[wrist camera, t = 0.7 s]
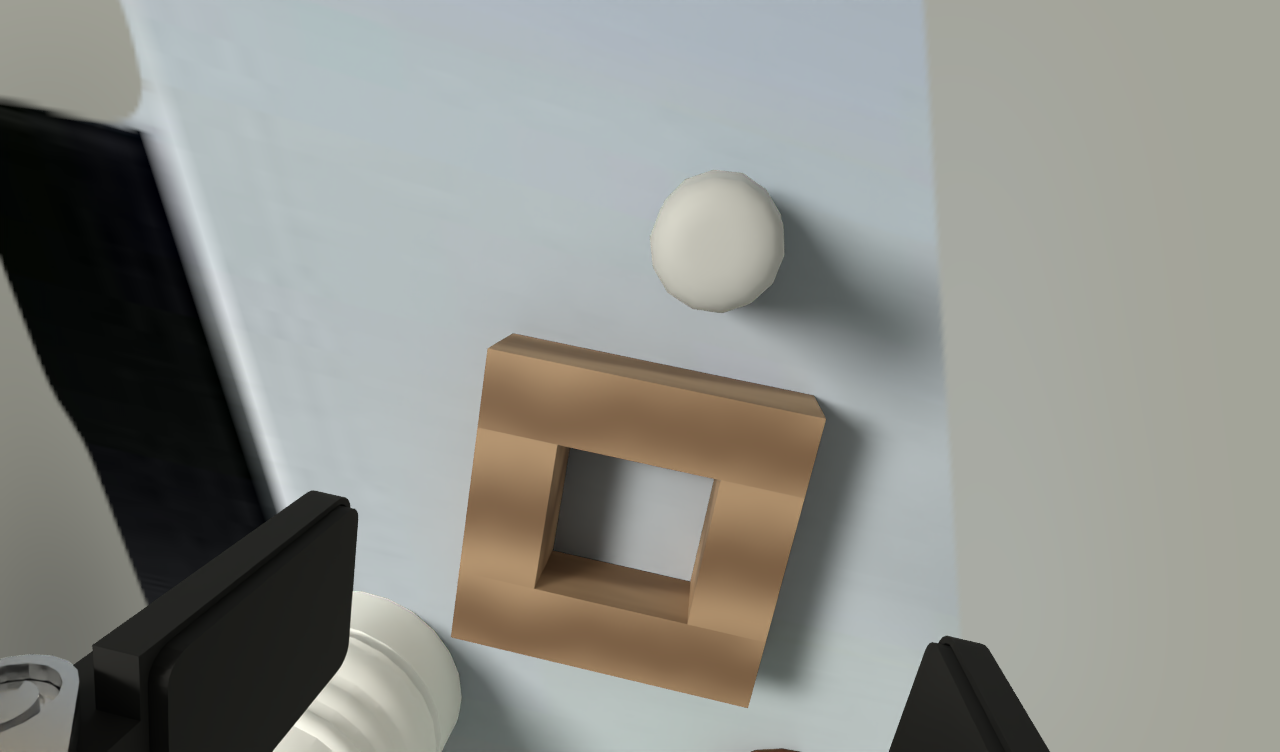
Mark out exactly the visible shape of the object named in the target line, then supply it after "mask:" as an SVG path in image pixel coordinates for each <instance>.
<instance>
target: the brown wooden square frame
mask: <svg viewBox="0 0 1280 752" xmlns="http://www.w3.org/2000/svg"><path fill="white" fill-rule="evenodd" d="M825 421H826V418H825V416H824V414H823V412H822V410H821V408H820V406H819V405H818V403H817V401H816V399H815V397H814V396H813V395H809V394H804V393H799V392H794V391H789V390H784V389H780V388H775V387H770V386H765V385H760V384H755V383H751V382H746V381H741V380H736V379H731V378H726V377H721V376H717V375H712V374H707V373H702V372H697V371H692V370H688V369H683V368H678V367H673V366H668V365H663V364H659V363H654V362H649V361H644V360H639V359H634V358H629V357H625V356H620V355H615V354H610V353H605V352H600V351H596V350H591V349H586V348H581V347H576V346H571V345H567V344H562V343H557V342H552V341H547V340H542V339H537V338H533V337H528V336H523V335H518V334H511V335H510V336H508V337H506V338H504V339H503V340H501V341H499V342H498V343H496V344H494V345H493V346H491V347H489V348H488V350H487V358H486V366H485V374H484V382H483V389H482V397H481V405H480V413H479V421H478V429H477V437H476V444H475V452H474V460H473V468H472V476H471V484H470V491H469V499H468V507H467V515H466V523H465V531H464V539H463V546H462V554H461V562H460V570H459V578H458V586H457V594H456V601H455V609H454V617H453V625H452V633H451V637H452V638H456V639H460V640H465V641H469V642H473V643H477V644H481V645H486V646H490V647H494V648H498V649H502V650H507V651H511V652H515V653H519V654H523V655H528V656H532V657H536V658H540V659H544V660H549V661H553V662H557V663H561V664H565V665H569V666H574V667H578V668H582V669H586V670H590V671H595V672H599V673H603V674H607V675H611V676H616V677H620V678H624V679H628V680H632V681H637V682H641V683H645V684H649V685H653V686H657V687H662V688H666V689H670V690H674V691H678V692H683V693H687V694H691V695H695V696H699V697H704V698H708V699H712V700H716V701H720V702H725V703H729V704H733V705H737V706H741V707H745V708H748V706H749V702H750V698H751V695H752V691H753V687H754V684H755V680H756V676H757V673H758V669H759V665H760V661H761V658H762V654H763V650H764V647H765V643H766V639H767V636H768V632H769V628H770V624H771V621H772V617H773V613H774V610H775V606H776V602H777V599H778V595H779V591H780V587H781V584H782V580H783V576H784V573H785V569H786V565H787V562H788V558H789V554H790V551H791V547H792V543H793V539H794V536H795V532H796V528H797V525H798V521H799V517H800V514H801V510H802V506H803V502H804V499H805V495H806V491H807V488H808V484H809V480H810V477H811V473H812V469H813V465H814V462H815V458H816V454H817V451H818V447H819V443H820V440H821V436H822V432H823V429H824V425H825ZM570 448H575V449H579V450H584V451H589V452H593V453H598V454H602V455H607V456H612V457H616V458H621V459H625V460H630V461H635V462H639V463H644V464H648V465H653V466H658V467H662V468H667V469H672V470H676V471H681V472H685V473H690V474H695V475H699V476H704V477H708V478H713V479H714V482H713V486H712V490H711V495H710V499H709V503H708V508H707V512H706V516H705V521H704V525H703V529H702V534H701V538H700V542H699V547H698V551H697V555H696V560H695V564H694V568H693V573H692V577H691V582H689V581H685V580H680V579H676V578H672V577H667V576H663V575H658V574H654V573H650V572H645V571H641V570H636V569H632V568H628V567H623V566H619V565H614V564H610V563H606V562H601V561H597V560H592V559H588V558H584V557H579V556H575V555H570V554H566V553H562V552H557V551H553V547H554V541H555V535H556V529H557V523H558V517H559V511H560V505H561V499H562V493H563V487H564V481H565V475H566V469H567V463H568V457H569V451H570Z"/></svg>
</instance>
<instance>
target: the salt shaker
mask: <svg viewBox="0 0 1280 752" xmlns="http://www.w3.org/2000/svg"><path fill="white" fill-rule="evenodd" d="M650 243H651V253H652V262H653V268H654V270H655V271H656V273H657V275H658V277H659V278H660V280H661V282H662V284H663V285H664V287H665V289H666V290H667V292H668V293H669V294H671V295H672V296H674V297H675V298H677V299H678V300H680V301H681V302H683V303H684V304H686V305H687V306H689V307H691V308H692V309H697V310H704V311H710V312H717V313H724V312H727V311H730V310H733V309H736V308H739V307H742V306H745V305H748V304H751V303H752V302H753V301H754V300H755V299H756V298H757V297H759V296H760V295H761V294H762V293H763V292H764V291H765V290H766V289H768V288H769V287H770V286H771V285H772V284H773V282H774V280H775V277H776V275H777V272H778V270H779V267H780V265H781V263H782V260H783V258H784V255H785V254H784V227H783V222H782V221H781V214H780V212H779V210H778V209H777V207H776V205H775V204H774V202H773V200H772V198H771V197H770V195H769V193H768V192H767V190H766V189H765V188H763V187H762V186H760V185H759V184H758V183H756V182H755V181H753V180H752V179H750V178H749V177H748V176H746V175H745V174H743V173H738V172H729V171H720V170H711V171H708V172H705V173H702V174H699V175H697V176H694V177H691V178H688V179H685V180H684V181H683V182H682V183H681V184H680V185H679V186H678V187H677V188H676V189H675V190H674V191H673V193H672V194H671V195H670V196H669V197H668V198H667V199H666V200H665V201H664V204H663V206H662V207H661V209H660V211H659V214H658V217H657V219H656V222H655V225H654V227H653V230H652V233H651V235H650Z"/></svg>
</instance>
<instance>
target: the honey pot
mask: <svg viewBox="0 0 1280 752" xmlns="http://www.w3.org/2000/svg"><path fill="white" fill-rule="evenodd" d="M461 700H462V696H461V687H460V679H459V673H458V671H457V669H456V666H455V664H454V661H453V659H452V656H451V654H450V651H449V650H448V649H447V647H446V646H445V645H444V643H443V642H442V641H441V639H440V638H439V636H438V635H437V634H436V632H435V631H434V630H433V629H432V628H431V627H430V626H429V625H427V624H426V623H425V622H424V621H423V620H422V619H420V618H419V617H418V616H417V615H416V614H415V613H413V612H412V611H410V610H408V609H406V608H405V607H403V606H401V605H399V604H397V603H395V602H393V601H391V600H390V599H387V598H384V597H380V596H376V595H373V594H369V593H365V592H362V591H353V595H352V609H351V622H350V636H349V646H348V651H347V655H346V657H345V660H344V662H343V664H342V666H341V667H340V669H339V670H338V671H337V673H336V674H335V675H334V676H333V678H332V679H331V680H330V681H329V683H328V684H327V685H326V686H325V687H324V689H323V690H322V691H321V692H320V694H319V695H318V696H317V697H316V699H315V700H314V701H313V702H312V703H311V705H310V706H309V707H308V708H307V710H306V711H305V712H304V713H303V715H302V716H301V717H300V718H299V720H298V721H297V722H296V723H295V724H294V726H293V727H292V728H291V729H290V731H289V732H288V733H287V734H286V736H285V737H284V738H283V739H282V741H281V742H280V743H279V744H278V745H277V747H276V748H275V749H274V750H273V752H442V750H443V748H444V746H445V744H446V742H447V740H448V738H449V736H450V734H451V732H452V730H453V728H454V726H455V725H456V723H457V721H458V716H459V711H460V705H461Z"/></svg>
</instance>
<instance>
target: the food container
mask: <svg viewBox="0 0 1280 752" xmlns="http://www.w3.org/2000/svg"><path fill="white" fill-rule="evenodd" d="M751 752H799V751H794V750H788V749H763V750H754V751H751Z"/></svg>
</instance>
